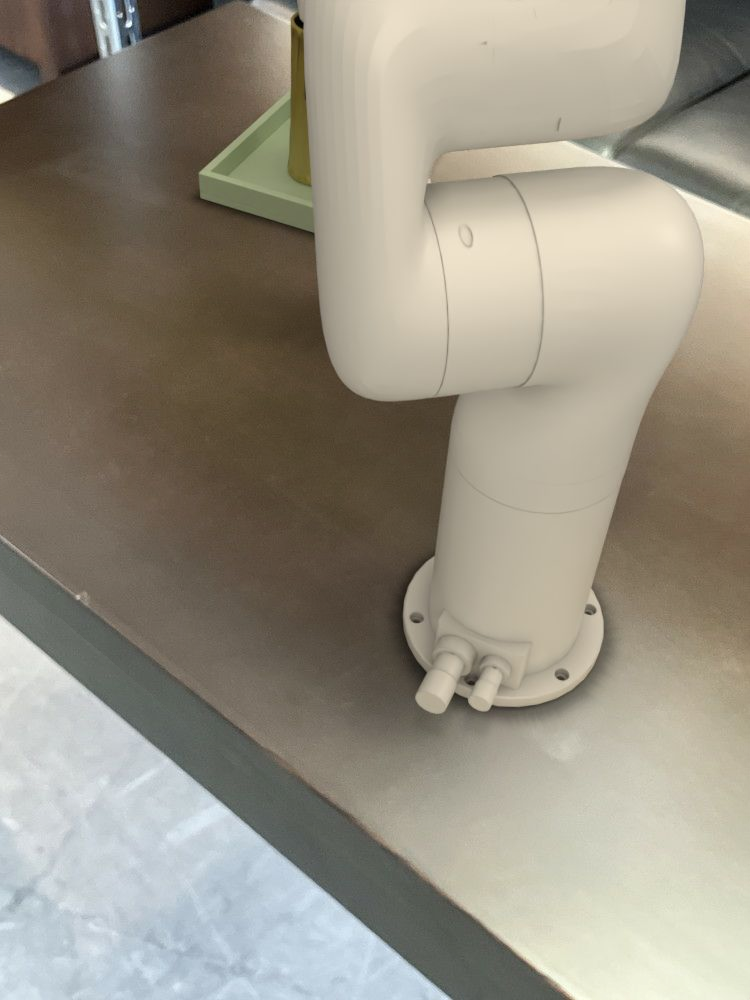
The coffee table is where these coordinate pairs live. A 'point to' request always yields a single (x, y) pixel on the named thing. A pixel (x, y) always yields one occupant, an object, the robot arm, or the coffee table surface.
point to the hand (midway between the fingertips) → (320, 78)
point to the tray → (260, 173)
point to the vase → (298, 108)
